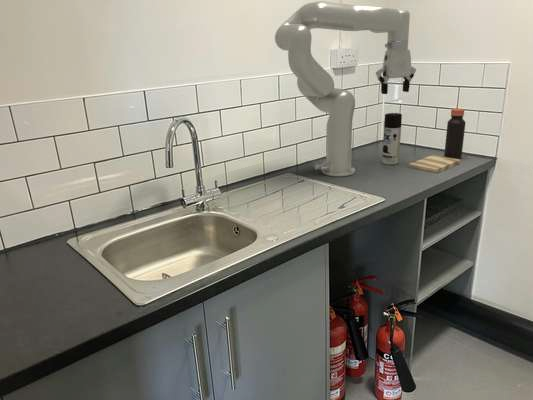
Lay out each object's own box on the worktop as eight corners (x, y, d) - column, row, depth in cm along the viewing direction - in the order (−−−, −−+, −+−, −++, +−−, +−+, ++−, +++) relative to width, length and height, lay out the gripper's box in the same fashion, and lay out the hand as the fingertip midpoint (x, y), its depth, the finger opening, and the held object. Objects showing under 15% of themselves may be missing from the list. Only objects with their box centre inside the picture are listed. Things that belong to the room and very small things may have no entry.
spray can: (378, 162, 182) (381, 113, 175) (391, 159, 184) (394, 112, 177) (389, 166, 176) (392, 116, 169) (402, 163, 179) (405, 114, 172)
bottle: (456, 155, 187) (461, 107, 180) (464, 159, 181) (470, 110, 174) (441, 156, 187) (445, 108, 180) (448, 160, 180) (453, 111, 173)
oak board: (437, 173, 164) (437, 169, 164) (408, 167, 173) (408, 163, 173) (460, 163, 175) (460, 159, 175) (432, 158, 184) (432, 154, 184)
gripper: (383, 47, 159) (381, 95, 165) (423, 45, 164) (419, 91, 170) (372, 47, 165) (370, 93, 171) (410, 45, 170) (407, 90, 176)
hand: (395, 92), depth 170 cm, fingers open, 9 cm apart
